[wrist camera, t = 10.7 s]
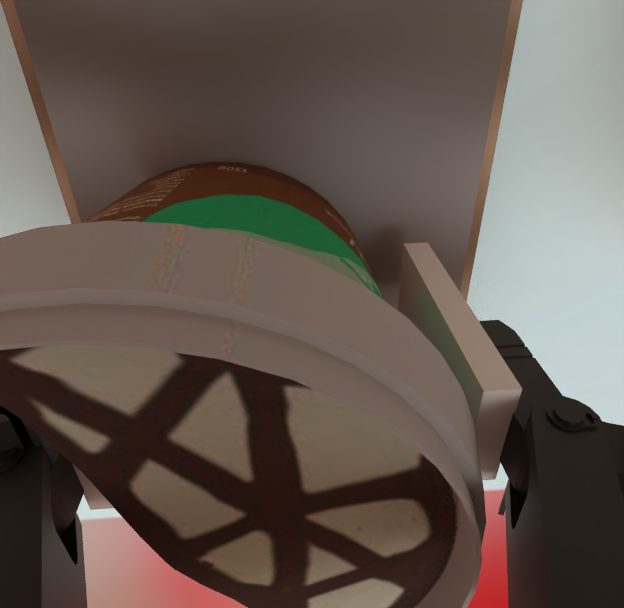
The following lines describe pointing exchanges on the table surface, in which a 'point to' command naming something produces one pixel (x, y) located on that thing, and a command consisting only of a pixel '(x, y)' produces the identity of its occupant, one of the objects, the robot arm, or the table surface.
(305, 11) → the walnut stand
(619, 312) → the table surface
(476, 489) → the food container
